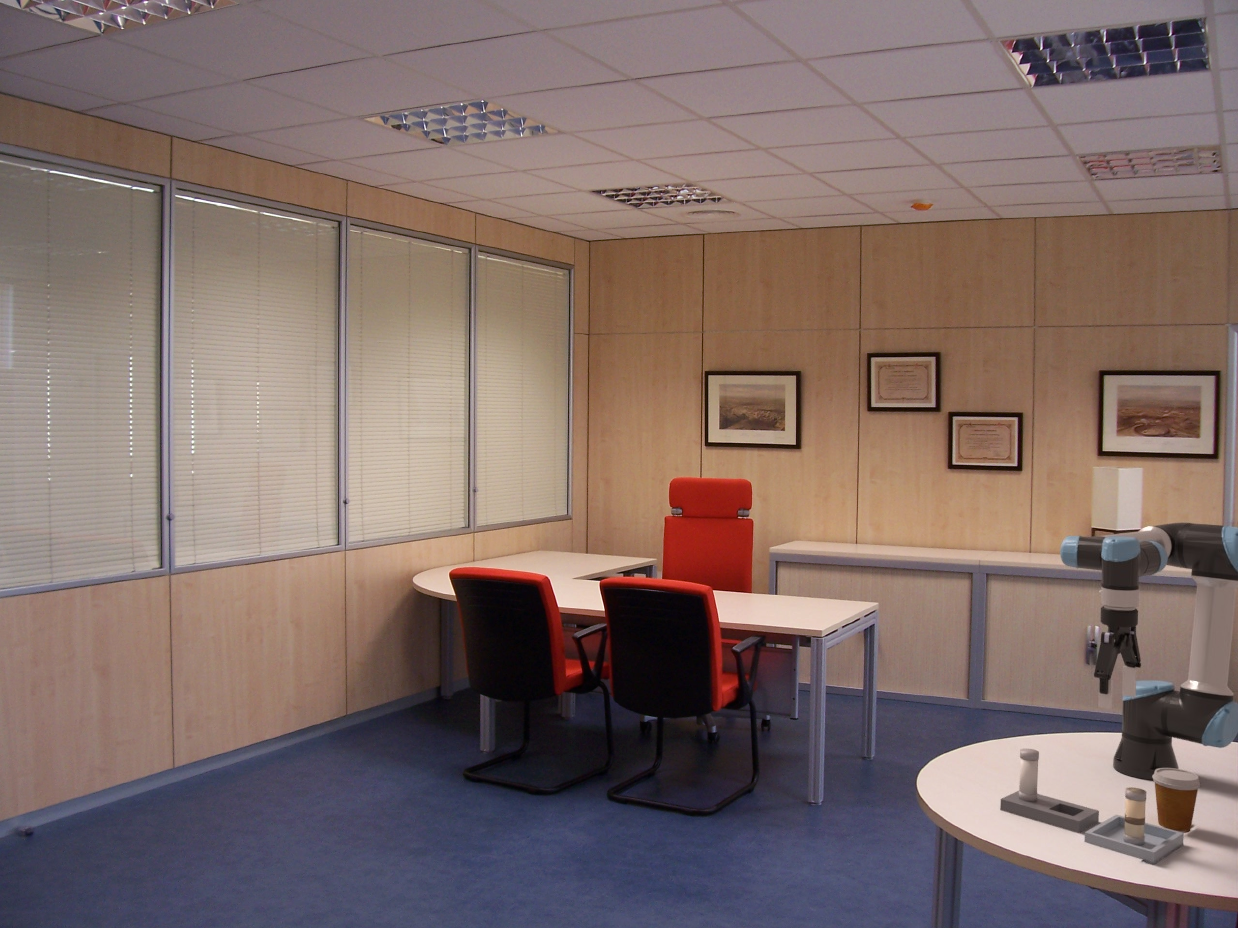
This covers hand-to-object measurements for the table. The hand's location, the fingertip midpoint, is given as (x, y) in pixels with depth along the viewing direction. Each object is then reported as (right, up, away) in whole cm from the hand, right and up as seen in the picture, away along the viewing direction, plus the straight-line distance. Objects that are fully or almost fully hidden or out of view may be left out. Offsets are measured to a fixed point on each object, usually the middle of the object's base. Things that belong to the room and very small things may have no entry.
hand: (1117, 701), depth 239 cm
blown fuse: (-2, -27, -11) cm, 29 cm away
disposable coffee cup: (+12, -28, -1) cm, 30 cm away
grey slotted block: (-14, -27, +3) cm, 30 cm away
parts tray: (-2, -28, -11) cm, 30 cm away
